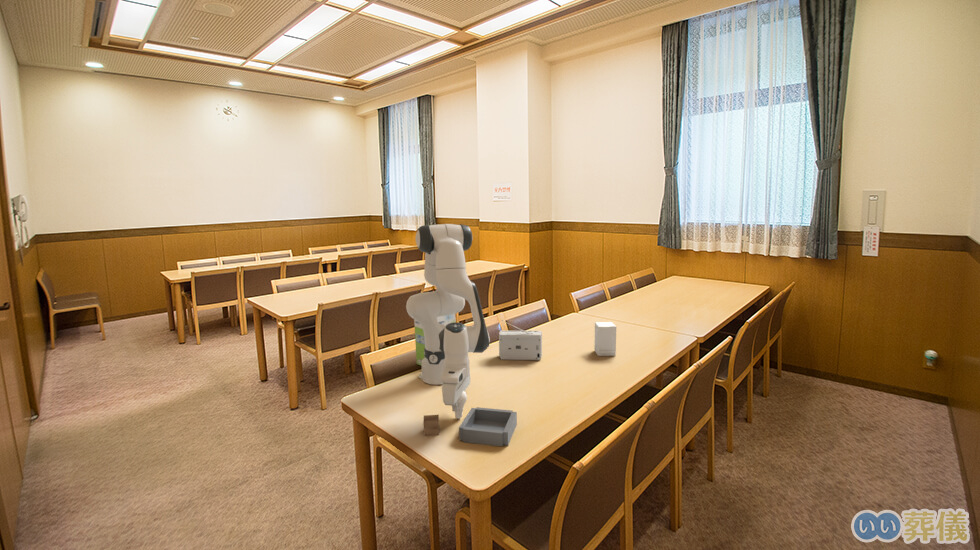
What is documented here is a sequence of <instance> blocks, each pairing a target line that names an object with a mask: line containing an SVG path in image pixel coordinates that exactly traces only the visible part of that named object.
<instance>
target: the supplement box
mask: <svg viewBox="0 0 980 550" xmlns="http://www.w3.org/2000/svg"><path fill="white" fill-rule="evenodd" d="M593 347H594V348H593V349H594V350H595V351H594V352H595V354H596V355H597V356H598V357H609V356H610V357H614V356H615V357H616V354H617V351H616V350H617V326H616V325H615V323H613V322H612V321H602V322H601V321H596V322H594V346H593Z"/></svg>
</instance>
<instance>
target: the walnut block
mask: <svg viewBox="0 0 980 550" xmlns="http://www.w3.org/2000/svg"><path fill="white" fill-rule="evenodd" d="M439 416H440V414H427V415H423V423H422V424H423V437H434V436H435V437H436V436H440V417H439Z"/></svg>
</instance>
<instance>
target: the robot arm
mask: <svg viewBox="0 0 980 550" xmlns="http://www.w3.org/2000/svg"><path fill="white" fill-rule="evenodd" d="M415 244H416V247H417V250H419V251H420V252H422V253H425V255H424V271H423V276H424V280H425V281H426V282H427V283H428V284H429V285H432V286H434V287H435V290H434V291H427V292H419V293H416V294H413V295H410V296H409V298H408V299H407V300H406V305H405V308H406V309H405V310H406V312H407V314H408V316H409V317H410V318H412V319H413V320H414V319H415V320H416V321H417V322H418V323H419V324H420V325H421V327H422V329H423V332H424V339H425V348H424V356H425V358H424V359H423V360H422V366H421V373H420V374H418V378H419V379H420V380H422V381H423V382H424V383H426V384H429V385H434V386H435V385H439V386H440V385H441V391H442V403H443V404H444V406H451V408H452V409H451V410H452V412H454V411H455V412H457V410H458V405H457V401H458V399H459V398H460V397H461V395H462V392H463V391H465V392H466V391H467V388H469V386H470V384H471V372H470V371H471V370H470V358H469V353H473V354H474V353H475V354H482V353H484V352H485V351H486V350H487V349H488V348H489V347H490V343H491V339H490V333H489V331H488V329H487V325H486V320H485V316H484V312H483V307H482V304H481V299H480V296H479V291H478V288H477V286H476V284H475V282H473V281H471V280H470V278H469V276H468V273H467V263H466V257H465V252H466V251H469V249H470V248H471V247H472V245H473V232H472V229H471V228H470V226H469V225H465V224H462V223H461V224H455V223H442V224H431V225H429V224H423V225H420V226H418V228H417V230H416V233H415ZM466 301H467V302H468V304H469V308H470V312H471V315H472V321H473V324H472V325H468V326H467V325H465V324H464V323H462V322H459V321H458V322H457V321H456V322H454V323H450V324H447V325H446V326H445V325H443V324H440V323H438V322H437V317H439V316H446V315H452V314H455V315H456V314H458V313H460V312H462V311H463V310H464V307H465V305H466ZM455 412H454V413H455Z"/></svg>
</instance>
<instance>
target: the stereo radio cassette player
mask: <svg viewBox="0 0 980 550" xmlns="http://www.w3.org/2000/svg"><path fill="white" fill-rule="evenodd" d="M501 322H504V320H501ZM505 323H506V324H508V325H510V326H511V327H513V328H516V329H517V330H500V331H499V332H498V351H499V353H498V354H499V358H500V360H502V359H503V360H516V361H517V360H518V361H540V360H541V359H542V356H543V332H542V331H541V330H523V329H521V328H519V327H517V326H515V325H513V324H510V323H509V322H506V321H505Z"/></svg>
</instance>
